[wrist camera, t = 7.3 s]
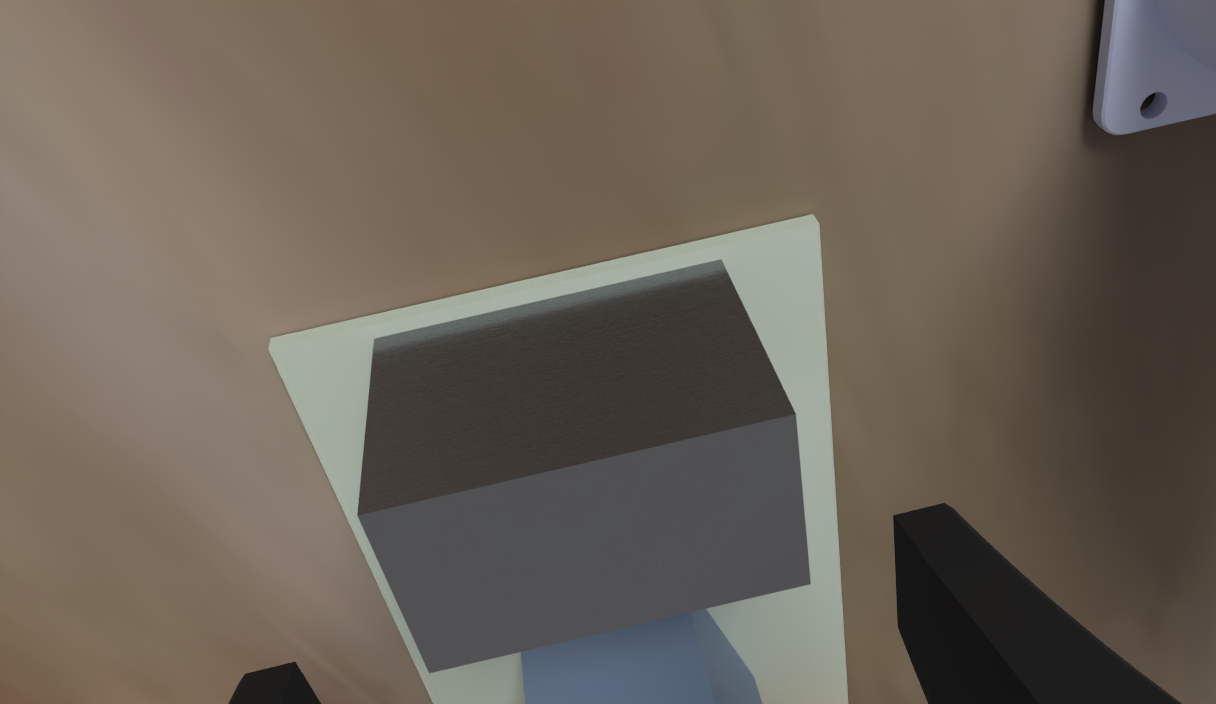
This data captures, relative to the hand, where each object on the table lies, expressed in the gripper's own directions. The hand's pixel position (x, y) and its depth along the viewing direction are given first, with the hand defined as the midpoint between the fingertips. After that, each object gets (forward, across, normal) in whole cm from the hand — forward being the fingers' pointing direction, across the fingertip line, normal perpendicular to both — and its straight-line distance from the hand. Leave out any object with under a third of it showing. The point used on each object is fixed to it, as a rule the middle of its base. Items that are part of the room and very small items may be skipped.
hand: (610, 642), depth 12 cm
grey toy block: (+9, 0, +3) cm, 9 cm away
